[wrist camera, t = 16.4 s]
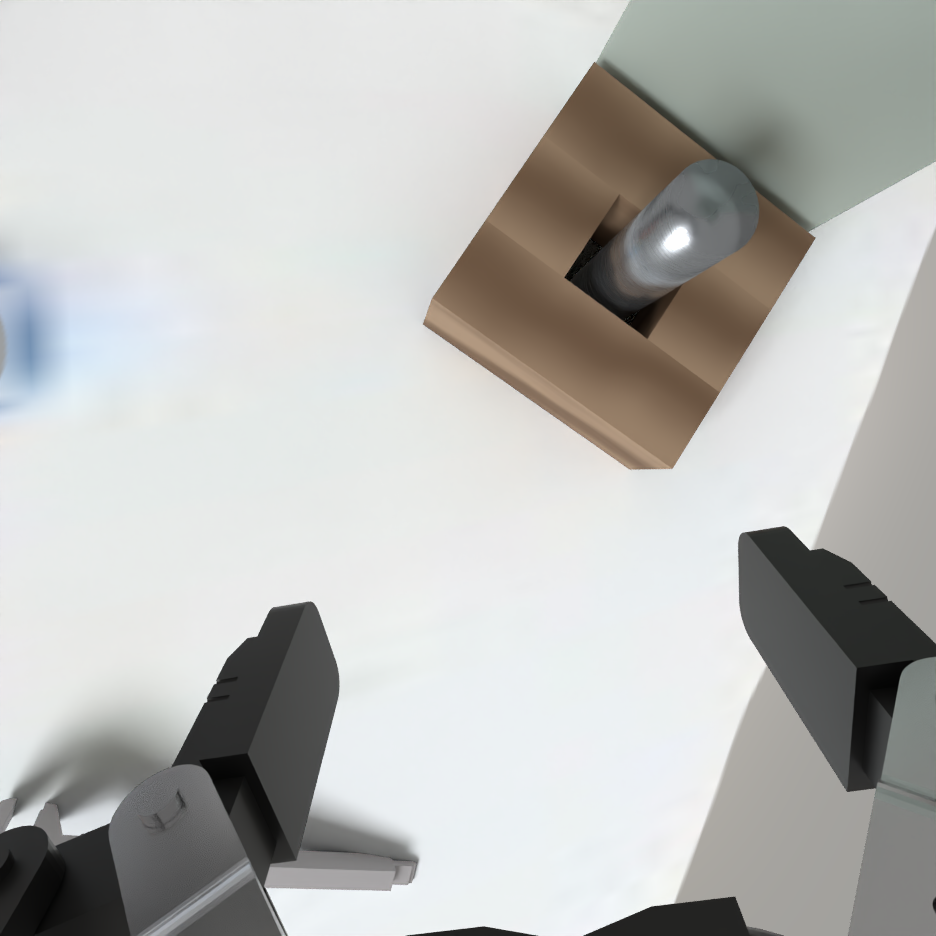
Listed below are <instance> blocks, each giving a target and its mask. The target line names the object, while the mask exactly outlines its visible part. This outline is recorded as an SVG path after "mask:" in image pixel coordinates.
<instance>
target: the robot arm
mask: <svg viewBox="0 0 936 936" xmlns="http://www.w3.org/2000/svg"><path fill="white" fill-rule="evenodd" d="M738 558H739V604H740V611H741V616H742V620H743V623H744V626H745V629H746V631H747V633H748V636H749V637H750V639H751V641H752V642H753V644H754V645H755V647H756V649H757V650H758V652H759V653H760V655H761V656H762V658H763V660H764V661H765V663H766V664H767V666H768V668H769V669H770V671H771V672H772V674H773V675H774V677H775V678H776V680H777V682H778V683H779V685H780V686H781V688H782V690H783V691H784V692H785V694H786V696H787V698H788V699H789V701H790V702H791V704H792V705H793V707H794V708H795V710H796V712H797V713H798V715H799V717H800V718H801V720H802V721H803V723H804V724H805V726H806V728H807V729H808V731H809V732H810V734H811V736H812V737H813V739H814V740H815V742H816V743H817V745H818V747H819V748H820V750H821V751H822V753H823V754H824V756H825V757H826V759H827V761H828V762H829V764H830V766H831V767H832V769H833V770H834V772H835V773H836V775H837V777H838V778H839V780H840V781H841V783H842V785H843V786H844V788H845V789H846V791H847V792H850V791H857V790H866V789H873V788H876V792H875V797H874V802H873V808H872V813H871V818H870V824H869V828H868V834H867V839H866V844H865V850H864V854H863V860H862V865H861V870H860V876H859V880H858V886H857V891H856V896H855V901H854V907H853V912H852V917H851V923H850V927H849V933H848V936H936V644H935V643H934V642H933V641H932V640H931V639H930V638H929V637H928V636H927V635H926V634H925V633H924V632H923V631H922V630H921V629H920V628H919V627H918V626H916V624H915V623H913V621H912V620H910V619H909V618H908V617H907V616H906V615H905V614H904V613H903V612H902V611H901V610H900V609H899V608H898V607H897V606H896V605H895V604H894V603H893V602H892V601H888V599H887V596H886V595H885V594H884V593H883V592H881V591H880V590H879V589H878V588H877V587H876V586H875V585H872V584H871V581H870V580H869V579H868V578H867V577H866V576H865V575H864V574H863V573H862V572H861V571H860V570H859V569H858V568H857V567H855V565H853V564H852V563H851V562H849V561H847V560H845V559H843V558H841V557H839V556H837V555H835V554H833V553H831V552H829V551H827V550H825V549H817V550H809V549H808V548H807V547H806V546H805V545H804V544H803V543H802V542H801V541H800V540H799V539H798V538H797V537H796V536H795V534H794V533H793V532H792V531H791V530H790V529H789V528H787V527H784V526H782V527H776V528H770V529H764V530H758V531H751V532H745V533H742V534H741V535H740V537H739V542H738ZM216 681H217V684H214V686H213V688H212V690H211V691H210V693H209V695H208V697H207V703H204V705H203V707H202V709H201V711H200V713H199V715H198V717H197V719H196V721H195V723H194V725H193V726H192V728H191V730H190V732H189V734H188V736H187V738H186V740H185V742H184V744H183V746H182V748H181V750H180V752H179V754H178V756H177V758H176V760H175V762H174V763H173V765H172V767H171V768H167V769H165V770H163V771H160V772H158V773H157V774H155V775H153V776H151V777H150V778H148V779H147V780H145V781H144V782H142V783H141V784H140V785H138V786H137V787H136V788H135V789H134V790H133V791H132V792H131V793H130V794H129V795H128V796H127V797H126V798H125V799H124V800H123V801H122V803H121V804H120V805H119V807H118V808H117V810H116V812H115V813H114V815H113V817H112V820H111V823H109V824H107V825H105V826H102V827H100V828H97V829H95V830H92V831H90V832H88V833H85V834H83V835H80V836H78V837H75V838H73V839H71V840H68V841H66V842H63V843H61V844H58V845H56V846H55V845H54V844H53V842H52V841H51V839H50V838H49V836H48V835H47V833H46V832H45V831H44V830H43V829H42V828H40V827H37V826H21V827H17V828H14V829H11V830H8V831H5V832H3V833H1V834H0V936H288V935H287V932H286V930H285V928H284V926H283V924H282V922H281V920H280V917H279V915H278V913H277V911H276V909H275V907H274V905H273V902H272V900H271V898H270V896H269V894H268V892H267V890H266V888H265V886H264V885H265V881H266V878H267V875H268V871H269V868H270V864H275V863H282V862H290V861H297V857H298V853H299V849H300V845H301V841H302V837H303V834H304V830H305V826H306V822H307V818H308V814H309V810H310V806H311V802H312V798H313V794H314V790H315V787H316V783H317V779H318V775H319V771H320V767H321V763H322V759H323V755H324V751H325V747H326V744H327V740H328V736H329V732H330V728H331V724H332V720H333V716H334V712H335V708H336V704H337V700H338V696H339V673H338V667H337V664H336V660H335V658H334V655H333V652H332V649H331V646H330V643H329V640H328V637H327V635H326V632H325V629H324V626H323V623H322V620H321V617H320V615H319V612H318V609H317V607H316V606H315V604H314V603H313V602H304V603H298V604H292V605H286V606H279V607H274V608H272V609H271V610H270V611H269V613H268V615H267V617H266V619H265V621H264V624H263V626H262V628H261V630H260V632H259V634H258V636H257V637H252V638H247V639H246V640H245V641H244V642H243V643H242V644H241V645H240V646H239V647H238V648H237V649H236V650H235V651H234V652H233V653H232V654H231V655H230V656H229V657H228V658H227V660H226V662H225V664H224V666H223V668H222V670H221V672H220V674H219V676H218V678H217V680H216ZM407 936H536V935H530V934H524V933H519V932H513V931H507V930H501V929H495V928H490V927H484V926H483V927H475V928H467V929H458V930H450V931H441V932H433V933H424V934H416V935H407ZM584 936H783V935H779V934H776V933H772V932H769V931H766V930H762V929H757V928H752V927H747V926H746V924H745V922H744V919H743V916H742V914H741V911H740V908H739V906H738V903H737V901H736V898H735V897H728V898H720V899H711V900H703V901H695V902H686V903H678V904H669V905H661V906H652V907H649V908H647V909H645V910H642V911H640V912H638V913H635V914H633V915H631V916H628V917H626V918H624V919H621V920H619V921H617V922H614V923H612V924H610V925H607V926H605V927H603V928H600V929H598V930H596V931H593V932H591V933H589V934H586V935H584Z"/></svg>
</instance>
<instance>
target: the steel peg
mask: <svg viewBox="0 0 936 936" xmlns="http://www.w3.org/2000/svg"><path fill="white" fill-rule="evenodd" d="M758 219H759V203H758V198H757V195H756V192H755V189H754V187H753V185H752V184H751V182H750V180H749V179H748V178H747V177H746V175H745V174H744V173H743V172H742V171H741V170H739V169H738V168H737V167H735V166H733V165H732V164H730V163H727V162H725V161H721V160H716V159H706V160H701V161H697V162H695V163H693V164H691V165H689V166H688V167H686V168H685V169H684V170H683V171H682V172H681V173H680V174H679V175H678V176H677V177H676V178H675V179H674V180H673V181H672V182H671V183H670V184H668V185H667V186H666V187H665V188H664V189H663V190H662V191H661V192H660V193H659V194H658V195H657V196H656V197H655V198H654V199H653V200H652V201H651V202H650V203H649V204H648V205H647V206H646V207H645V208H644V209H643V210H642V211H641V212H639V213H638V214H637V215H636V216H635V217H634V218H633V219H632V220H631V221H630V222H629V223H628V224H627V225H626V226H625V227H624V228H623V229H622V230H621V231H620V232H619V233H618V234H617V235H616V236H615V237H614V238H613V239H612V240H611V241H609V242H608V243H607V244H606V245H605V246H604V247H603V248H602V249H601V250H600V251H599V252H598V253H597V254H596V255H595V256H594V257H593V258H592V259H591V260H590V261H589V262H588V263H587V264H586V265H585V266H584V267H583V268H582V269H580V270H579V271H578V272H577V273H576V274H575V275H574V276H573V278H572V279H571V281H570V282H571V283H572V284H574V285H575V286H576V287H578V288H579V289H580V290H582V291H583V292H584V293H586V294H587V295H588V296H590V297H591V298H592V299H594V300H595V301H597V302H598V303H599V304H601V305H602V306H603V307H605V308H606V309H607V310H609V311H610V312H611V313H613V314H614V315H616V316H617V317H618V318H620V319H621V320H622V321H623V320H625V319H626V318H628V317H630V316H631V315H633V314H634V313H636V312H638V311H639V310H641V309H643V308H644V307H646V306H648V305H649V304H651V303H653V302H654V301H656V300H657V299H659V298H661V297H662V296H664V295H666V294H667V293H669V292H671V291H672V290H674V289H676V288H677V287H679V286H680V285H682V284H684V283H685V282H687V281H689V280H690V279H692V278H694V277H695V276H697V275H699V274H700V273H702V272H704V271H705V270H707V269H708V268H710V267H712V266H713V265H715V264H717V263H718V262H720V261H722V260H723V259H725V258H727V257H728V256H730V255H731V254H733V253H735V252H736V251H738V250H740V249H741V248H742V247H744V246H745V245H746V244H747V243H748V242H749V240H750V239H751V238H752V236H753V234H754V232H755V230H756V228H757V224H758Z"/></svg>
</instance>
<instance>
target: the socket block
mask: <svg viewBox="0 0 936 936" xmlns="http://www.w3.org/2000/svg"><path fill="white" fill-rule="evenodd" d="M706 159H716V158H714V157H713V156H712V155H711V154H709V153H708V152H707V151H706V150H704V149H703V148H702V147H701V146H699V145H698V144H697V143H696V142H694V141H693V140H692V139H691V138H689V137H688V136H687V135H686V134H684V133H683V132H682V131H681V130H679V129H678V128H677V127H675V126H674V125H673V124H672V123H670V122H669V121H668V120H667V119H665V118H664V117H663V116H662V115H660V114H659V113H658V112H657V111H655V110H654V109H653V108H652V107H650V106H649V105H648V104H647V103H645V102H644V101H643V100H642V99H640V98H639V97H638V96H637V95H635V94H634V93H633V92H632V91H630V90H629V89H628V88H627V87H625V86H624V85H623V84H622V83H620V82H619V81H618V80H617V79H615V78H614V77H613V76H611V75H610V74H609V73H608V72H606V71H605V70H604V69H603V68H601V67H600V66H599V65H598V64H596V63H595V62H594V63H593V65H592V66H591V68H590V69H589V70H588V72H587V73H586V75H585V76H584V78H583V79H582V81H581V82H580V84H579V85H578V87H577V88H576V89H575V91H574V92H573V94H572V95H571V97H570V98H569V100H568V101H567V103H566V104H565V105H564V107H563V108H562V110H561V111H560V113H559V114H558V116H557V117H556V119H555V120H554V122H553V123H552V124H551V126H550V127H549V129H548V130H547V132H546V133H545V135H544V136H543V138H542V139H541V140H540V142H539V143H538V145H537V146H536V148H535V149H534V151H533V152H532V154H531V155H530V157H529V158H528V159H527V161H526V162H525V164H524V165H523V167H522V168H521V170H520V171H519V173H518V174H517V175H516V177H515V178H514V180H513V181H512V183H511V184H510V186H509V187H508V189H507V190H506V191H505V193H504V194H503V196H502V197H501V199H500V200H499V202H498V203H497V205H496V206H495V208H494V209H493V210H492V212H491V213H490V215H489V216H488V218H487V219H486V221H485V222H484V224H483V225H482V226H481V228H480V229H479V231H478V232H477V234H476V235H475V237H474V238H473V240H472V241H471V243H470V244H469V245H468V247H467V248H466V250H465V251H464V253H463V254H462V256H461V257H460V259H459V260H458V261H457V263H456V264H455V266H454V267H453V269H452V270H451V272H450V273H449V275H448V276H447V278H446V279H445V280H444V282H443V283H442V285H441V286H440V288H439V289H438V291H437V292H436V294H435V295H434V296H433V298H432V300H431V303H430V306H429V309H428V312H427V314H426V317H425V320H424V323H423V325H425V326H426V327H428V328H429V329H430V330H432V331H433V332H435V333H436V334H438V335H439V336H440V337H442V338H443V339H445V340H446V341H448V342H449V343H450V344H452V345H453V346H455V347H456V348H458V349H459V350H460V351H462V352H463V353H465V354H466V355H468V356H469V357H470V358H472V359H473V360H475V361H476V362H477V363H479V364H480V365H482V366H483V367H485V368H486V369H487V370H489V371H490V372H492V373H493V374H495V375H496V376H497V377H499V378H500V379H502V380H503V381H505V382H506V383H507V384H509V385H510V386H512V387H513V388H515V389H516V390H517V391H519V392H520V393H522V394H523V395H524V396H526V397H527V398H529V399H530V400H532V401H533V402H534V403H536V404H537V405H539V406H540V407H542V408H543V409H544V410H546V411H547V412H549V413H550V414H552V415H553V416H554V417H556V418H557V419H559V420H560V421H562V422H563V423H564V424H566V425H567V426H569V427H570V428H571V429H573V430H574V431H576V432H577V433H579V434H580V435H581V436H583V437H584V438H586V439H587V440H589V441H590V442H591V443H593V444H594V445H596V446H597V447H599V448H600V449H601V450H603V451H604V452H606V453H607V454H609V455H610V456H611V457H613V458H614V459H616V460H617V461H618V462H620V463H621V464H623V465H624V466H626V467H627V468H628V469H630V470H631V469H672V468H673V467H674V465H675V464H676V462H677V460H678V459H679V457H680V456H681V454H682V452H683V451H684V449H685V448H686V446H687V444H688V443H689V441H690V439H691V438H692V436H693V435H694V433H695V431H696V430H697V428H698V427H699V425H700V423H701V422H702V420H703V419H704V417H705V415H706V414H707V412H708V410H709V409H710V407H711V406H712V404H713V402H714V401H715V399H716V398H717V396H718V394H719V393H720V391H721V390H722V388H723V386H724V385H725V383H726V381H727V380H728V378H729V377H730V375H731V373H732V372H733V370H734V369H735V367H736V365H737V364H738V362H739V361H740V359H741V357H742V356H743V354H744V352H745V351H746V349H747V348H748V346H749V344H750V343H751V341H752V340H753V338H754V336H755V335H756V333H757V332H758V330H759V328H760V327H761V325H762V324H763V322H764V320H765V319H766V317H767V315H768V314H769V312H770V311H771V309H772V307H773V306H774V304H775V303H776V301H777V299H778V298H779V296H780V295H781V293H782V291H783V290H784V288H785V286H786V285H787V283H788V282H789V280H790V278H791V277H792V275H793V274H794V272H795V270H796V269H797V267H798V266H799V264H800V262H801V261H802V259H803V257H804V256H805V254H806V253H807V251H808V249H809V248H810V246H811V245H812V243H813V241H814V240H815V237H814V236H812V235H811V234H810V233H809V232H807V231H806V230H805V229H804V228H802V227H801V226H800V225H798V224H797V223H796V222H795V221H793V220H792V219H791V218H790V217H788V216H787V215H786V214H785V213H783V212H782V211H781V210H780V209H778V208H777V207H776V206H775V205H773V204H772V203H771V202H770V201H768V200H767V199H766V198H765V197H763V196H762V195H761V194H760V193H758V192H757V191H756V190H755V192H756V195H757V198H758V203H759V219H758V224H757V228H756V230H755V232H754V234H753V236H752V238H751V239H750V240H749V242H748V243H747V244H746V245H745V246H744V247H742V248H741V249H740V250H738V251H736V252H735V253H733V254H731V255H730V256H728V257H727V258H725V259H723V260H722V261H720V262H718V263H717V264H715V265H713V266H712V267H710V268H708V269H707V270H705V271H704V272H702V273H700V274H699V275H697V276H695V277H694V278H692V279H690V280H689V281H687V282H685V283H684V284H682V285H680V286H679V287H677V288H676V289H674V290H672V291H671V292H669V293H667V294H666V295H664V296H662V297H661V298H659V299H657V300H656V301H654V302H653V303H651V304H649V305H648V306H646V307H644V308H643V309H641V310H639V312H638V313H637V315H636V316H635V318H634V319H633V321H632V322H631V324H630V326H629V325H628V324H626V323H625V322H624V321H622V320H621V319H620V318H618V317H617V316H616V315H614V314H613V313H611V312H610V311H609V310H607V309H606V308H605V307H603V306H602V305H601V304H599V303H598V302H597V301H595V300H594V299H592V298H591V297H590V296H588V295H587V294H586V293H584V292H583V291H582V290H580V289H579V288H578V287H576V286H575V285H574V284H572V283H571V282H569V281H568V280H567V279H565V278H564V277H565V275H566V274H567V272H568V271H569V269H570V268H571V266H572V265H573V263H574V262H575V260H576V259H577V257H578V256H579V254H580V253H581V251H582V250H583V248H584V247H585V245H586V244H587V242H588V241H589V239H590V238H591V239H592V240H594V241H595V242H596V243H598V244H599V245H600V246H602V247H604V246H605V245H606V244H607V243H608V242H609V241H611V240H612V239H613V238H614V237H615V236H616V235H617V234H618V233H619V232H620V231H621V230H622V229H623V228H624V227H625V226H626V225H627V224H628V223H629V222H630V221H631V220H632V219H633V218H634V217H635V216H636V215H637V214H638V213H639V212H641V211H642V210H643V209H644V208H645V207H646V206H647V205H648V204H649V203H650V202H651V201H652V200H653V199H654V198H655V197H656V196H657V195H658V194H659V193H660V192H661V191H662V190H663V189H664V188H665V187H666V186H667V185H668V184H670V183H671V182H672V181H673V180H674V179H675V178H676V177H677V176H678V175H679V174H680V173H681V172H682V171H683V170H684V169H685V168H686V167H688V166H689V165H691V164H693V163H695V162H697V161H701V160H706ZM716 160H717V159H716Z"/></svg>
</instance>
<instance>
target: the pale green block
mask: <svg viewBox="0 0 936 936" xmlns="http://www.w3.org/2000/svg"><path fill="white" fill-rule="evenodd" d="M596 64H598V65H599V66H600V67H601V68H603V69H604V70H605V71H606V72H608V73H609V74H610V75H611V76H613V77H614V78H615V79H617V80H618V81H619V82H620V83H622V84H623V85H624V86H625V87H627V88H628V89H629V90H630V91H632V92H633V93H634V94H635V95H637V96H638V97H639V98H640V99H642V100H643V101H644V102H645V103H647V104H648V105H649V106H650V107H652V108H653V109H654V110H655V111H657V112H658V113H659V114H660V115H662V116H663V117H664V118H665V119H667V120H668V121H669V122H670V123H672V124H673V125H674V126H675V127H677V128H678V129H679V130H681V131H682V132H683V133H684V134H686V135H687V136H688V137H689V138H691V139H692V140H693V141H694V142H696V143H697V144H698V145H699V146H701V147H702V148H703V149H704V150H706V151H707V152H708V153H709V154H711V155H712V156H713V157H714V158H716V159H717V160H721V161H725V162H727V163H730V164H732V165H733V166H735V167H737V168H738V169H739V170H741V171H742V172H743V173H744V174H745V175H746V177H747V178H748V179H749V180H750V182H751V184H752V185H753V187H754V189H755V190H756V191H757V192H758V193H760V194H761V195H762V196H763V197H765V198H766V199H767V200H768V201H770V202H771V203H772V204H773V205H775V206H776V207H777V208H778V209H780V210H781V211H782V212H783V213H785V214H786V215H787V216H788V217H790V218H791V219H792V220H793V221H795V222H796V223H797V224H798V225H800V226H801V227H802V228H804V229H805V230H806V231H807V232H809V231H811V230H812V229H814V228H816V227H818V226H820V225H821V224H823V223H825V222H827V221H829V220H830V219H832V218H834V217H836V216H838V215H839V214H841V213H843V212H845V211H847V210H849V209H850V208H852V207H854V206H856V205H858V204H859V203H861V202H863V201H865V200H867V199H868V198H870V197H872V196H874V195H876V194H877V193H879V192H881V191H883V190H885V189H886V188H888V187H890V186H892V185H894V184H895V183H897V182H899V181H901V180H903V179H905V178H906V177H908V176H910V175H912V174H914V173H915V172H917V171H919V170H921V169H923V168H924V167H926V166H928V165H930V164H932V163H933V162H935V161H936V0H630V2H629V4H628V6H627V7H626V9H625V11H624V13H623V15H622V17H621V18H620V20H619V22H618V24H617V26H616V27H615V29H614V31H613V33H612V35H611V37H610V38H609V40H608V42H607V44H606V46H605V47H604V49H603V51H602V53H601V55H600V57H599V58H598V60H597V62H596Z"/></svg>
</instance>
